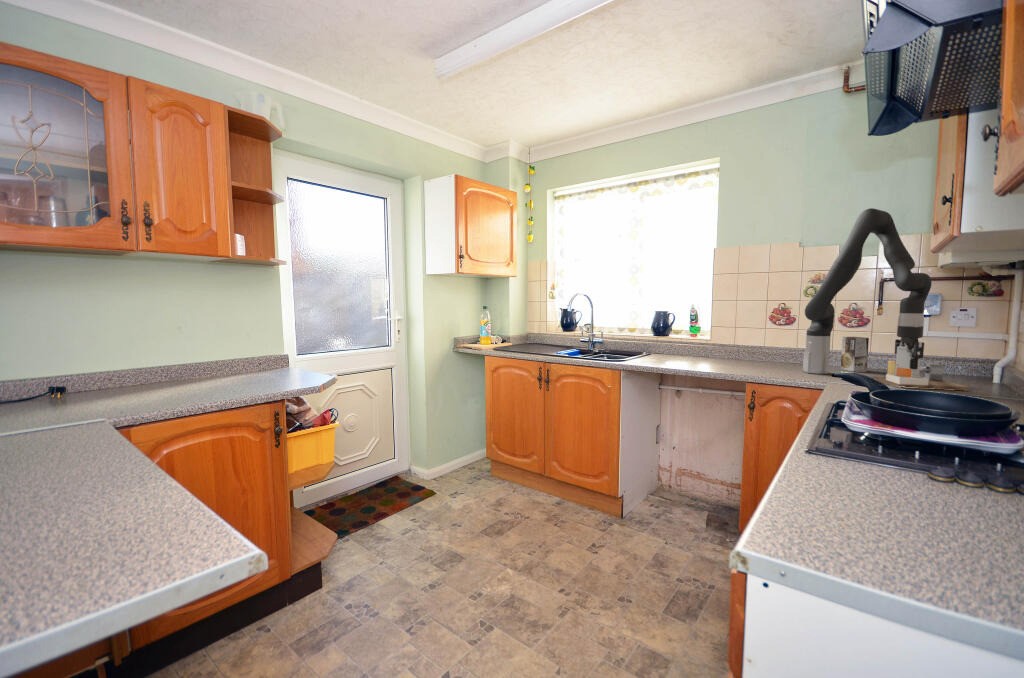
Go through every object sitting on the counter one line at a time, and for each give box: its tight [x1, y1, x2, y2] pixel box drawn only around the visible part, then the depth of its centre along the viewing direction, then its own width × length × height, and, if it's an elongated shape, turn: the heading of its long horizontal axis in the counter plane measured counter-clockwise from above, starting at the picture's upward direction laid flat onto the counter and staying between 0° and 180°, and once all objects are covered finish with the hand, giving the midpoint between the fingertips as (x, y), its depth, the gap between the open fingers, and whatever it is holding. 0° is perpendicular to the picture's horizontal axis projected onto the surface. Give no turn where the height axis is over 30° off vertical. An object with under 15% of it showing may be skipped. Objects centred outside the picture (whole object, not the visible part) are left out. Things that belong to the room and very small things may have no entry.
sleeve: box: [885, 373, 929, 385], centre depth 174 cm, size 9×9×2 cm
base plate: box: [873, 376, 970, 392], centre depth 177 cm, size 22×18×2 cm
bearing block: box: [922, 362, 945, 381], centre depth 180 cm, size 4×5×6 cm
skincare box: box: [895, 346, 921, 378], centre depth 174 cm, size 6×4×12 cm
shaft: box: [886, 360, 930, 374], centre depth 182 cm, size 14×5×6 cm, turn 76°
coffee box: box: [840, 336, 870, 373], centre depth 214 cm, size 9×6×16 cm
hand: (907, 367), depth 174 cm, fingers closed on skincare box, 7 cm apart
